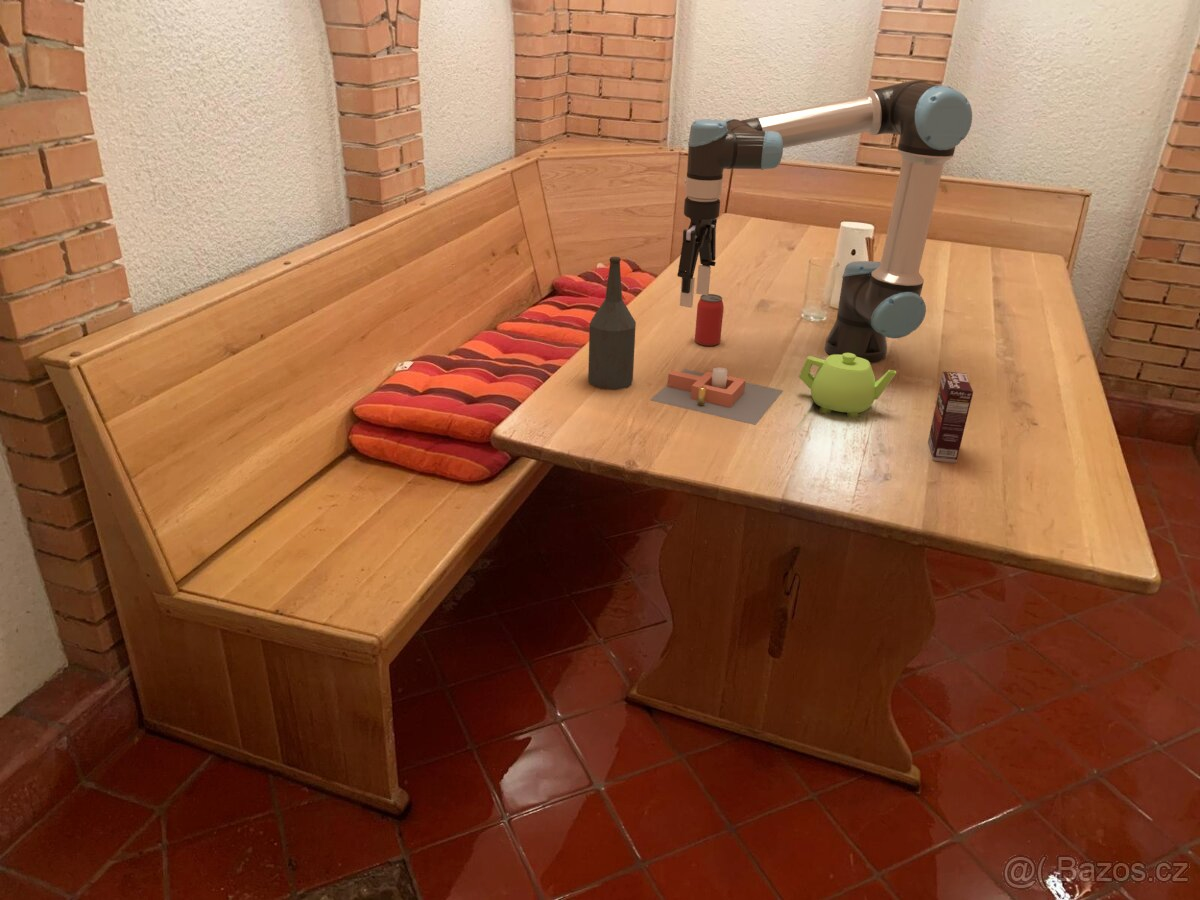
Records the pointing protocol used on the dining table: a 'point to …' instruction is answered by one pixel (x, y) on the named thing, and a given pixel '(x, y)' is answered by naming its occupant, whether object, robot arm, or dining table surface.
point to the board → (743, 409)
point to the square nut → (708, 387)
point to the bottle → (612, 338)
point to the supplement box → (950, 417)
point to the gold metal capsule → (701, 396)
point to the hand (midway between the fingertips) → (694, 300)
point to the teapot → (844, 383)
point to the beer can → (709, 320)
